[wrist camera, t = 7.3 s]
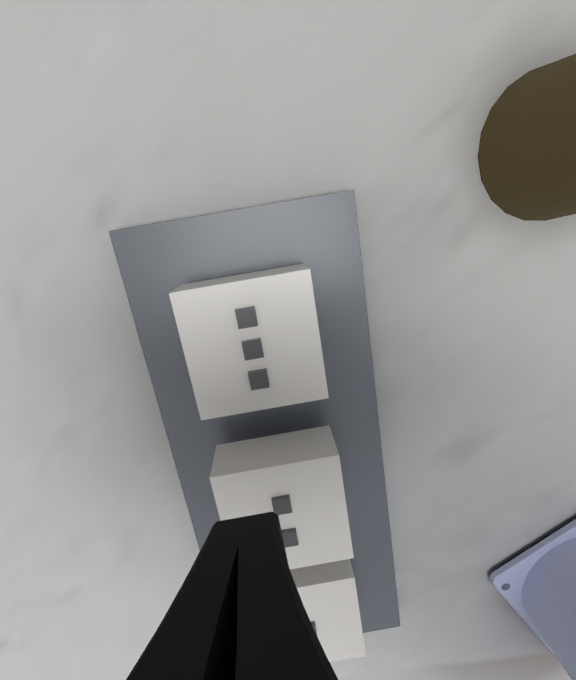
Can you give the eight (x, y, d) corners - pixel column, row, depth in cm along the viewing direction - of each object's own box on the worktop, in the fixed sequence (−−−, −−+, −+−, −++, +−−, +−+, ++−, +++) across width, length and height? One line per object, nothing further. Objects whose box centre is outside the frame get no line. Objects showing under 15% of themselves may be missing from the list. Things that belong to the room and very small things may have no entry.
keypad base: (395, 612, 23) (409, 653, 21) (231, 642, 23) (228, 686, 21) (349, 191, 16) (363, 185, 14) (116, 231, 16) (92, 231, 14)
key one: (355, 610, 21) (367, 660, 18) (265, 627, 21) (265, 678, 18) (344, 538, 19) (355, 581, 17) (247, 555, 19) (245, 601, 17)
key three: (320, 376, 17) (329, 400, 14) (209, 395, 17) (200, 423, 14) (303, 263, 15) (310, 269, 13) (182, 284, 15) (167, 294, 13)
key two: (343, 518, 18) (354, 562, 16) (239, 536, 18) (235, 583, 16) (329, 425, 17) (340, 457, 14) (216, 445, 17) (208, 481, 14)
